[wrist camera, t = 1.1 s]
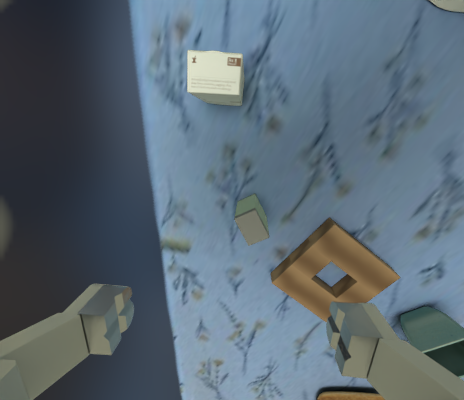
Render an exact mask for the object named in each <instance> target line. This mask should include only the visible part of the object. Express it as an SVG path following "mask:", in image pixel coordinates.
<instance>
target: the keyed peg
mask: <svg viewBox="0 0 464 400" xmlns="http://www.w3.org/2000/svg"><path fill="white" fill-rule="evenodd" d="M234 220H235V222H236V223H237V225H238V227H239V229H240V231H241V233H242V234H243V236H244V238H245V240H246V242H247V244H248V245H252V244H254V243H257V242H259V241H262V240H264V239H267V238H269V231H268V223H267V216H266V214H265V212H264V210H263V208H262V207H261V205H260V203H259V201H258V199H257V197H256V195H255V194H253V195H251V196H249V197H246V198H244V199H242V200H240V201H238V203H237V208H236V213H235V218H234Z"/></svg>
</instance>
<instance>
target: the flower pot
mask: <svg viewBox="0 0 464 400" xmlns="http://www.w3.org/2000/svg"><path fill="white" fill-rule="evenodd" d="M401 326H402V329H403V331H404V333H405V335H406V337H407V339H408V340H409V342H410V344H411V345H412V346H413V347H415V348H416V349H418V350H419V351H421V352H422V353H424V354H425V355H427V356H428V357H430V358H431V359H432V360H434V361H435V362H437V363H438V364H440V365H441V366H443V367H444V368H446V369H447V370H448V371H450V372H451V373H453V374H454V375H456V376H457V377H459V378H461V377H464V328H463V327H461V326H460V325H459V324H458V323H457V322H455V321H454V320H453V319H452V318H450V317H449V316H447V315H446V314H444V313H443V312H441V311H439V310H436V309H433V308H430V307H426V306H425V307H421V308H419V309H416V310H413V311H411V312H408V313H405V314H402V315H401Z"/></svg>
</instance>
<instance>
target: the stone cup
mask: <svg viewBox="0 0 464 400" xmlns="http://www.w3.org/2000/svg"><path fill="white" fill-rule="evenodd" d="M317 400H385V399H384V398H383V397H382V396H381V395H380V394H374V393H363V392H344V391H332V392H322V393H321V394H320V395H319V396H318V398H317Z"/></svg>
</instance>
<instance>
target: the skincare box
mask: <svg viewBox="0 0 464 400" xmlns="http://www.w3.org/2000/svg"><path fill="white" fill-rule="evenodd" d="M187 53H188V79H187V85H188V86H187V91H188V92H189V93H191V94H192V95H194V96H196V97H197V98H199V99H201V100H203V101H204V102H206V103H212V104H219V105H232V106H242V98H243V87H244V68H243V55H242V54H238V53H224V52H219V51H195V50H188V51H187Z"/></svg>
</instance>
